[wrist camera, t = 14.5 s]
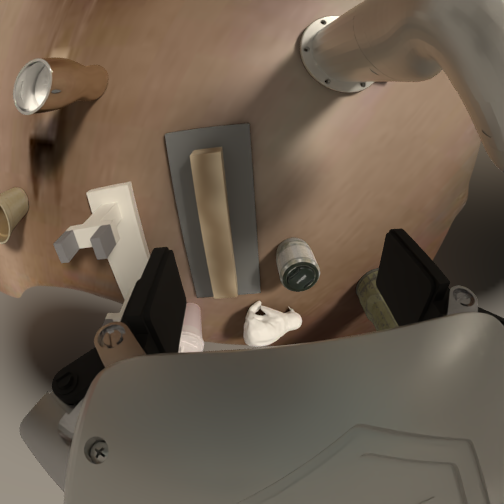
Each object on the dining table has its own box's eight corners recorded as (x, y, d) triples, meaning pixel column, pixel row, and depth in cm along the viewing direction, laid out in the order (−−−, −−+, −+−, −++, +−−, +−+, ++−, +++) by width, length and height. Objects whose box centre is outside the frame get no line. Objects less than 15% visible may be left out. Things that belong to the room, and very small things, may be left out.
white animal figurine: (247, 332, 45) (313, 329, 47) (241, 299, 52) (300, 298, 54) (243, 354, 48) (304, 350, 50) (238, 321, 55) (293, 319, 58)
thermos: (382, 304, 56) (444, 440, 27) (342, 294, 53) (403, 456, 24) (404, 274, 52) (485, 411, 22) (365, 260, 49) (452, 426, 20)
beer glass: (117, 64, 28) (61, 57, 16) (103, 107, 32) (44, 120, 19) (81, 60, 27) (20, 56, 14) (69, 100, 30) (7, 114, 17)
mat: (249, 123, 35) (249, 123, 35) (260, 290, 51) (260, 292, 51) (166, 133, 35) (164, 134, 34) (197, 294, 51) (197, 297, 51)
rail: (222, 146, 36) (220, 152, 33) (237, 282, 49) (237, 297, 46) (194, 149, 36) (189, 155, 33) (215, 283, 49) (214, 298, 46)
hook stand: (130, 181, 39) (93, 218, 27) (165, 302, 52) (151, 356, 41) (90, 189, 38) (46, 227, 27) (130, 303, 52) (111, 354, 40)
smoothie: (176, 295, 51) (163, 352, 39) (209, 300, 52) (203, 358, 40) (175, 317, 54) (165, 372, 43) (205, 322, 55) (200, 378, 44)
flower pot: (38, 191, 37) (11, 211, 30) (31, 229, 41) (8, 252, 34) (9, 171, 34) (-19, 188, 27) (3, 209, 38) (-20, 229, 31)
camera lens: (267, 254, 47) (272, 283, 41) (291, 228, 45) (301, 254, 38) (293, 272, 49) (301, 301, 43) (317, 248, 47) (329, 275, 40)
